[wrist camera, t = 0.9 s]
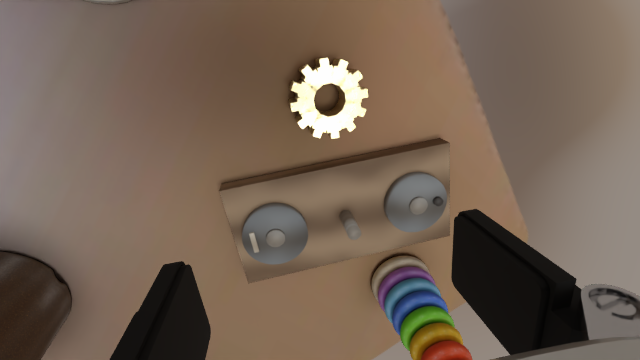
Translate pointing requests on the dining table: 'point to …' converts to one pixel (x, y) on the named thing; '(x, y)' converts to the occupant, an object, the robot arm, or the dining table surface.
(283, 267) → the gear board
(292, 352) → the dining table surface
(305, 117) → the brass gear
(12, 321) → the plant pot
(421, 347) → the stacking toy
